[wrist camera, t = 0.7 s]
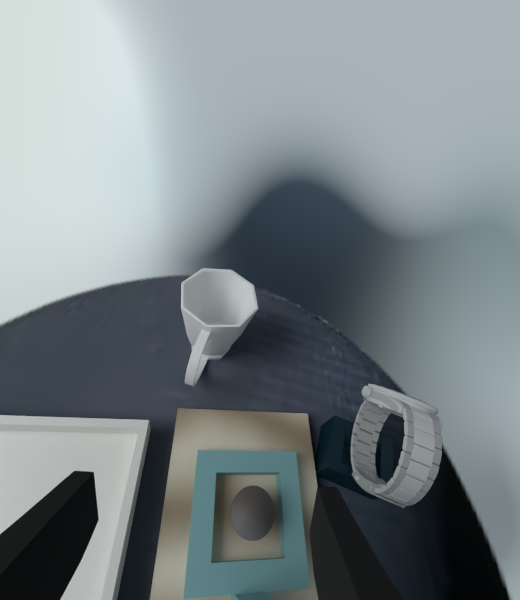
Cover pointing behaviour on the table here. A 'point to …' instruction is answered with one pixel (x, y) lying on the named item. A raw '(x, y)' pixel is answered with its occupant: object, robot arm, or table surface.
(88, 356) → the table surface
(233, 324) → the cup
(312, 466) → the board
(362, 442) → the watch
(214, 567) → the teal frame with handle
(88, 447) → the tray
